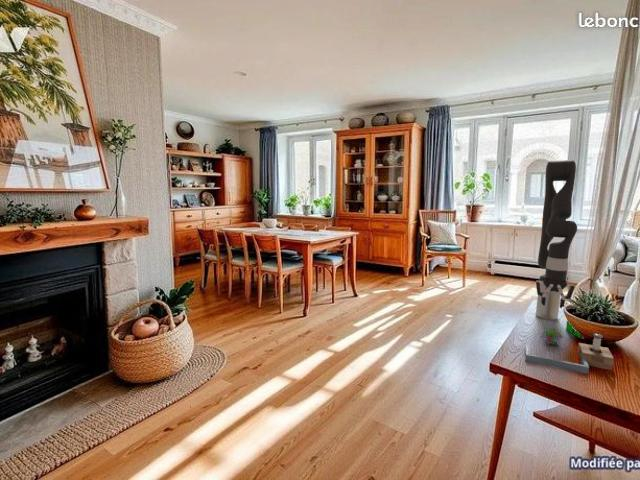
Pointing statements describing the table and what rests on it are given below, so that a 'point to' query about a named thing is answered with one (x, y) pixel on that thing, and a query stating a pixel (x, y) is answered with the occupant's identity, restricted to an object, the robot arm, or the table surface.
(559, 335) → the geometric puzzle
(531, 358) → the open frame
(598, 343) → the cylinder
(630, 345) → the table surface
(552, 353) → the table surface
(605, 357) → the slotted tan block
